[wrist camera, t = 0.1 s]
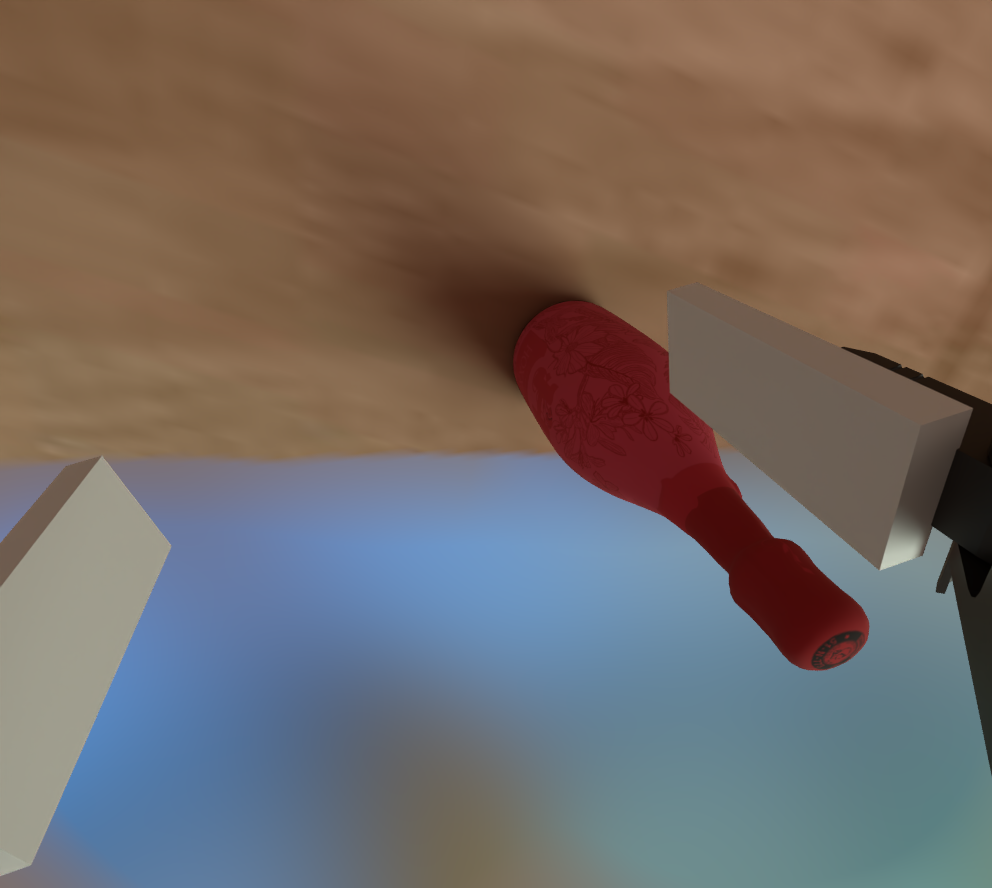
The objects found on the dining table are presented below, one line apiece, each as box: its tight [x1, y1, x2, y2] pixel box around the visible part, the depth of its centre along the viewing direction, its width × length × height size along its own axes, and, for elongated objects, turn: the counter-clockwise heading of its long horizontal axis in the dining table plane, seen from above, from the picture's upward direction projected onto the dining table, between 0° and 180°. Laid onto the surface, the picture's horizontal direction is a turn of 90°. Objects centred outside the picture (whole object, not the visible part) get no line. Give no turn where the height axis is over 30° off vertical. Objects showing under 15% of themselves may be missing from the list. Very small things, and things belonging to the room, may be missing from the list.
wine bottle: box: [513, 301, 869, 670], centre depth 31 cm, size 10×10×30 cm
